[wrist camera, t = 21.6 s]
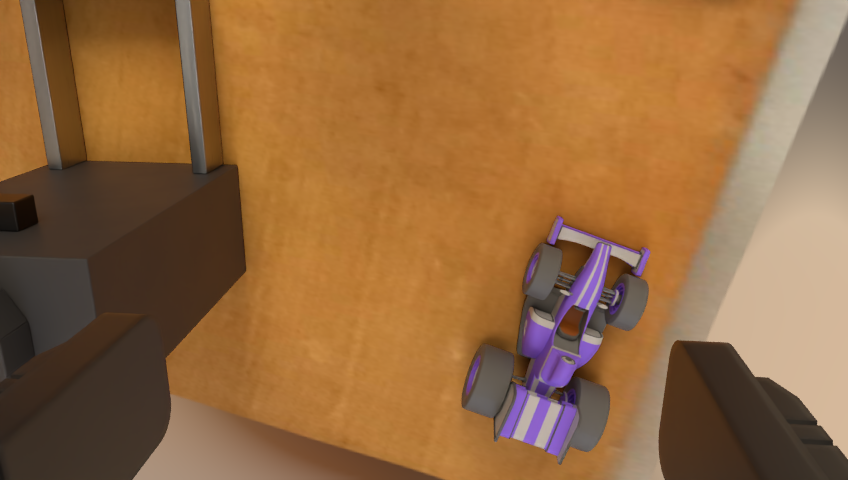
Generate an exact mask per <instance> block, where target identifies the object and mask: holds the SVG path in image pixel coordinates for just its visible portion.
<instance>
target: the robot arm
mask: <svg viewBox="0 0 848 480" xmlns="http://www.w3.org/2000/svg"><path fill="white" fill-rule="evenodd" d="M170 412H171V398H170V391H169V383H168V375H167V367H166V360H165V352H164V344H163V336H162V330H161V326H160V323H159V321H158V319H157V318H156V317H155V316H154V315H151V314H130V313H109V312H106V313H103V314H101V315H99V316H98V317H97V318H96V319H94V320H93V321H92V322H91V323H89V324H88V325H87V326H86V327H84V328H83V329H82V330H80V331H79V332H78V333H77V334H75V335H74V336H73V337H72V338H70V339H69V340H68V341H67V342H64V343H62V344H60V345H58V346H56V347H54V348H51V349H49V350H47V351H45V352H43V353H40V354H38V355H36V356H34V357H33V358H32V359H30V360H29V361H28V362H27V363H25V364H24V365H23V366H21V367H20V368H19V369H17V370H16V371H15V372H13V373H12V374H11V377H10V379H7V378H6V379H4V380H3V381H2V382H0V480H132V479H133V478H134V477H135V475H136V474H137V473H138V471H139V470H140V468H141V467H142V466H143V465H144V463H145V462H146V461H147V459H148V458H149V457H150V455H151V454H152V453H153V452H154V450H155V449H156V448H157V446H158V445H159V443H160V442H161V441H162V439H163V437H164V435H165V433H166V430H167V427H168V424H169V420H170ZM659 457H660V464H661V469H662V472H663V476H664V478H665V480H848V459H847V458H846V457H845V455H844V454H843V453H842V452H841V451H840V449H839V448H838V447H837V446H833V440H832V439H831V438H830V437H829V436H828V434H827V433H826V432H825V430H824V429H823V428H822V427H821V426H818V425H817V420H816V419H815V418H814V416H812V414H811V413H810V411H809V410H808V409H807V408H806V407H805V405H804V404H803V403H802V401H801V400H800V399H799V398H798V397H797V396H795V395H793V394H792V393H791V392H789V391H787V390H786V389H784V388H783V387H781V386H780V385H778V384H777V383H775V382H774V381H772V380H771V379H769V378H763V377H755V376H754V375H753V374H752V373H751V371H750V370H749V368H748V367H747V365H746V364H745V363H744V361H743V360H742V359H741V357H740V356H739V354H738V353H737V352H736V350H735V349H734V347H733V346H732V345H731V344H729V343H722V342H701V341H679V340H677V341H675V343H674V344H673V346H672V349H671V352H670V357H669V364H668V371H667V379H666V386H665V393H664V400H663V407H662V414H661V421H660V429H659Z"/></svg>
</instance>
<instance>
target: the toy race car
mask: <svg viewBox="0 0 848 480" xmlns="http://www.w3.org/2000/svg"><path fill="white" fill-rule="evenodd" d="M563 221H564V220H563V218H562V217H560V216H557V218H556V220H555V222H554V224H553V227H552V229H551V231H550V234H549V236H548V238H547V242H548V243H549V244H552V245H554V244H555V241H556V239H561V240H567V241H572V242H576V243H580V244H582V245H585V246H588V247H590V248H593V249H594V250H593V252H592V254H591V256H590V257H589V259H588V261H587V262H586V264H585V265H584V266H581V267H580V268H579V270H578V271H577V273H576V274H575V276H573V275H570V274H567V273H564V272H561V271H560V268H561V263H562V250H560V249H558V248H555V247H552V246H550V245H547V244H544V243H540V244H539V245H538V246H537V248H536V249H535V251H534V253H533V254H532V256H531V259H530V261H529V263H528V266H527V269H526V272H525V275H524V279H523V285H522V291H523V293H524V294H526V295H528V296H527V298H526V300H525V303H524V306H523V310H522V316H521V323H520V330H519V336H518V343H517V353H518V354H519V355H521V356H524V357H526V358H529V359H531V360H530V363H529V366H528V369H527V372H526V375H525V377H523V378H522V377H518V376H514V375H513V370H514V355H513V354H512V353H510V352H508V351H505V350H502V349H499V348H496V347H494V346H491V345H488V344H485V343H484V344H482V345H481V346H480V348H479V349H478V351H477V352H476V354H475V356H474V358H473V361H472V363H471V366H470V368H469V371H468V374H467V377H466V380H465V384H464V388H463V393H462V408H464V409H466V410H469V411H472V412H475V413H478V414H480V415H483V416H486V417H489V418H493V417H494V441H495V442H497V440H498V438H499V436H503V437H506V438H509V439H510V438H511V437H512V438H514V439H517V440H520V441H523V442H526V443H528V444H531V445H534V446H537V447H540V448H542V449H545V452H548V453H551V454H554V455H556V456H557V460H558V464H560V465H561V463H562V461H563V459H564V457H565V455H566V453H567V451H568V449H569V447H573V448H576V449H579V450H581V451H585V452H589V451H591V450H592V449H593V448H594V447H595V446H596V444H597V443H598V441H599V440H600V438H601V436H602V434H603V431H604V429H605V426H606V423H607V419H608V415H609V409H610V395H609V391H608V389H607V388H606V387H605V386H602V385H599V384H596V383H594V382H591V381H588V380H585V379H583V378H580V377H574V378H572V379H571V377H572V375H573V373H574V371H575V370H576V369H578V368H580V367H581V366H583V365H584V364H586V363H587V362H588V361H589V360H590V359H591V358H592V357H593V356H594V354H595V353H596V352H597V350H598V348H599V347H600V344H601V342H602V339H603V335H602V332H603V330H604V328H605V326H606V324H609V325H611V326H614V327H617V328H620V329H623V330H625V331H629V330H631V329H633V328H634V327H635V326H636V324H637V323H638V321H639V320H640V318H641V316H642V314H643V312H644V309H645V307H646V303H647V299H648V292H649V288H648V284H647V282H646V281H645V280H643V279H640V278H637V277H635V276H632V275H629V274H623V275H621V276H620V277H619V278H618V280H617V281H616V282H615V284H614V286H613V287H612V289H611V290H610V289H608V288H605V287H603V286H604V282H605V278H606V272H607V267H608V262H609V257H610V255H612V256H615V257H618V258H620V259H622V260H623V261H625V262H626V263H628V264H629V265H630V266H632V270H631V272H632V273H633V274H635V275H637V276H641V274H642V272H643V270H644V267H645V264H646V262H647V259H648V257H649V254H650V251H649V250H648V249H647V248H644V247H642V249H641V251H639V252H637V251H635V250H632V249H629V248H626V247H624V246H621V245H618V244H616V243H613V242H610V241H607V240H605V239H602V238H599V237H596V236H594V235H591V234H588V233H586V232H583V231H580V230H577V229H575V228H572V227H569V226H566V225H564V224H562V223H563ZM558 275H561V276H563V277H566V278H568V279H571V281H570V280H567V279H564V278H563V277H559V276H558ZM557 278H558V279H559V280H561V281H559V280H557ZM562 280H563V281H566V282H569V284H568V283H565V282H562ZM555 284H558V285H560V286H563V287H565V288H566V291H565V290H561V289H558V288H555V287H554V285H555ZM566 285H567V286H566ZM602 291H604V292H607V293H603V292H602ZM608 293H610V294H608ZM601 294H602V295H604V296H605V297H608V298H605V297H603V296H601ZM599 300H601V301H604V302H607V303H606V305H604V304H602V303H600V302H598V301H599ZM512 378H515V379H518V380H521V381H522V382H523V384H522V386H520V385H518V384H516V383H515V382H511V379H512ZM570 379H571V380H570ZM568 382H569V383H568ZM565 385H566V387H565V389H564V391H563V392H562V393H561V392H559V391H557V390H555V389H556V388H557V387H560V388H563V387H564V386H565ZM553 392H554V393H557V394H559V395H561V397H560V399H559V401H557V400H554V399H551V398H550V397H551V395H552V394H553Z"/></svg>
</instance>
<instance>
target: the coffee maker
mask: <svg viewBox="0 0 848 480" xmlns="http://www.w3.org/2000/svg"><path fill="white" fill-rule="evenodd" d="M0 193H4V194H32V195H34V199H35V205H36V210H37V216H38V223H36V224H34V225H32V226H30V227H27V228H25V229H23V230H21V231H19V232H16V231H0V382H2V381H3V380H4V379H6V378H7V379H10V377H11V374H12V373H13V372H15V371H16V370H17V369H19V368H20V367H21V366H23V365H24V364H25V363H27V362H28V361H29V360H30V359H32V358H33V357H34V356H36V355H38V354H40V353H43V352H45V351H47V350H49V349H51V348H54V347H56V346H58V345H60V344H62V343H64V342H67V341H68V340H69V339H70V338H72V337H73V336H74V335H75V334H77V333H78V332H79V331H80V330H82V329H83V328H84V327H86V326H87V325H88V324H89V323H91V322H92V321H93V320H94V319H96V318H97V317H98V316H99V315H101V314H103V313H106V312H109V313H130V314H151V315H154V316H155V317H156V318H157V319H158V321H159V323H160V326H161V330H162V336H163V344H164V352H165V358H166V357H167V356H168V355H169V354H170V353H171V352H172V351H173V350H174V348H175V347H176V346H177V345H178V344H179V343H180V342H181V341H182V340H183V339H184V338H185V337H186V335H187V334H188V333H189V332H190V331H191V330H192V329H193V328H194V327H195V326H196V325H197V324H198V322H199V321H200V320H201V319H202V318H203V317H204V316H205V315H206V314H207V313H208V312H209V311H210V309H211V308H212V307H213V306H214V305H215V304H216V303H217V302H218V301H219V300H220V299H221V297H222V296H223V295H224V294H225V293H226V292H227V291H228V290H229V289H230V288H231V287H232V286H233V284H234V283H235V282H236V281H237V280H238V279H239V278H240V277H241V276H242V275H243V274H244V273H245V271H246V267H245V255H244V242H243V230H242V218H241V206H240V194H239V181H238V169H237V165H221V166H219V167H218V168H216V169H214V170H212V171H211V172H209V173H207V174H194V173H193V170H192V164H180V163H145V162H109V161H84V162H81V163H79V164H76V165H74V166H71V167H68V168H66V169H63V170H53V169H49V167H48V165H46V166H43V167H40V168H38V169H35V170H32V171H29V172H26V173H24V174H21V175H18V176H15V177H12V178H10V179H7V180H4V181H1V182H0Z"/></svg>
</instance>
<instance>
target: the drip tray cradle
mask: <svg viewBox="0 0 848 480" xmlns="http://www.w3.org/2000/svg"><path fill="white" fill-rule="evenodd" d="M20 6H21V12H22V17H23V23H24V29H25V35H26V41H27V46H28V52H29V58H30V64H31V69H32V75H33V81H34V87H35V92H36V98H37V104H38V110H39V115H40V121H41V127H42V133H43V139H44V144H45V150H46V156H47V162H48V167H49V169H53V170H63V169H66V168H68V167H71V166H74V165H76V164H79V163H81V162H84V161H87V158H86V151H85V145H84V138H83V132H82V125H81V119H80V112H79V106H78V99H77V93H76V86H75V80H74V73H73V67H72V60H71V54H70V47H69V41H68V34H67V28H66V21H65V15H64V9H63V2H62V0H20ZM175 6H176V16H177V26H178V35H179V45H180V54H181V64H182V74H183V83H184V93H185V103H186V112H187V122H188V131H189V141H190V151H191V160H192V170H193V173H194V174H207V173H209V172H211V171H212V170H214V169H216V168H218V167H219V166H221V165H223V156H222V145H221V133H220V122H219V111H218V100H217V88H216V77H215V66H214V54H213V43H212V32H211V21H210V9H209V0H175ZM36 223H38V216H37V210H36V205H35V199H34V195H32V194H4V193H0V231H16V232H19V231H21V230H23V229H25V228H27V227H30V226H32V225H34V224H36Z"/></svg>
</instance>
